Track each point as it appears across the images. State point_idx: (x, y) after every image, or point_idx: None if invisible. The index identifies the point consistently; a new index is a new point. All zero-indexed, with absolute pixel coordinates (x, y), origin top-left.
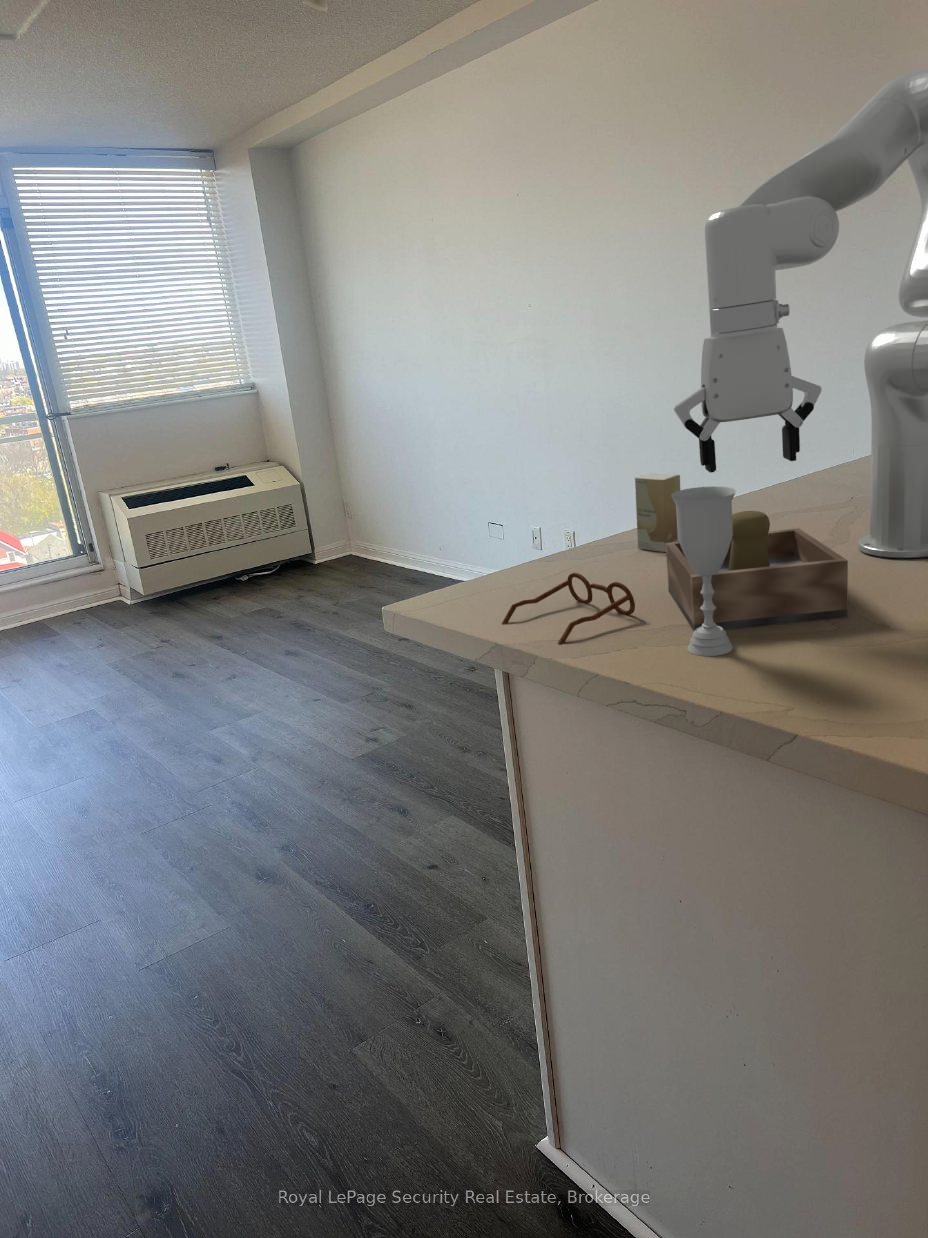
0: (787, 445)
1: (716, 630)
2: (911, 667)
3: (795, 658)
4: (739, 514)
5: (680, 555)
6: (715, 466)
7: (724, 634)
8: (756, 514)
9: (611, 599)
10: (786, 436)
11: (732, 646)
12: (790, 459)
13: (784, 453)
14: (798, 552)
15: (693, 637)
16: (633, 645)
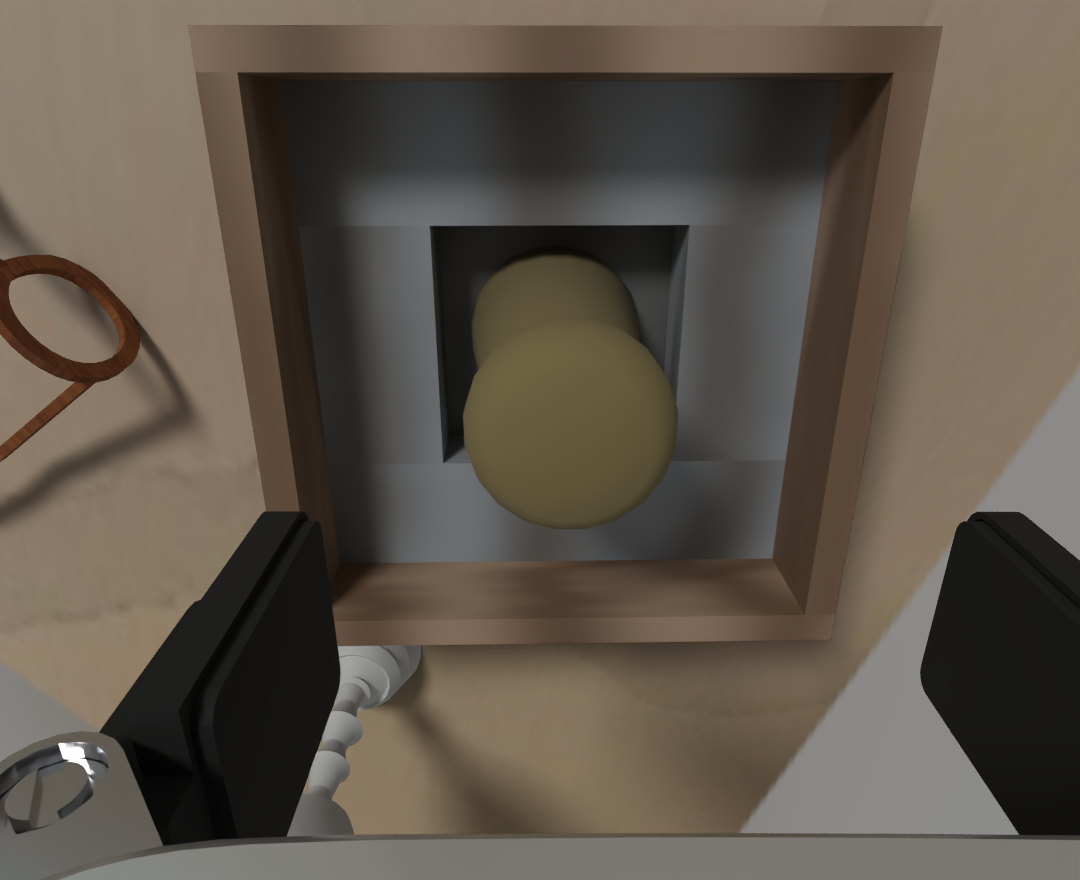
0: (992, 724)
1: (370, 701)
2: (735, 820)
3: (541, 741)
4: (524, 467)
5: (260, 335)
6: (328, 705)
7: (393, 693)
8: (606, 497)
9: (29, 273)
10: (1053, 769)
11: (419, 657)
12: (924, 687)
13: (970, 578)
14: (840, 152)
15: None
16: (162, 584)
